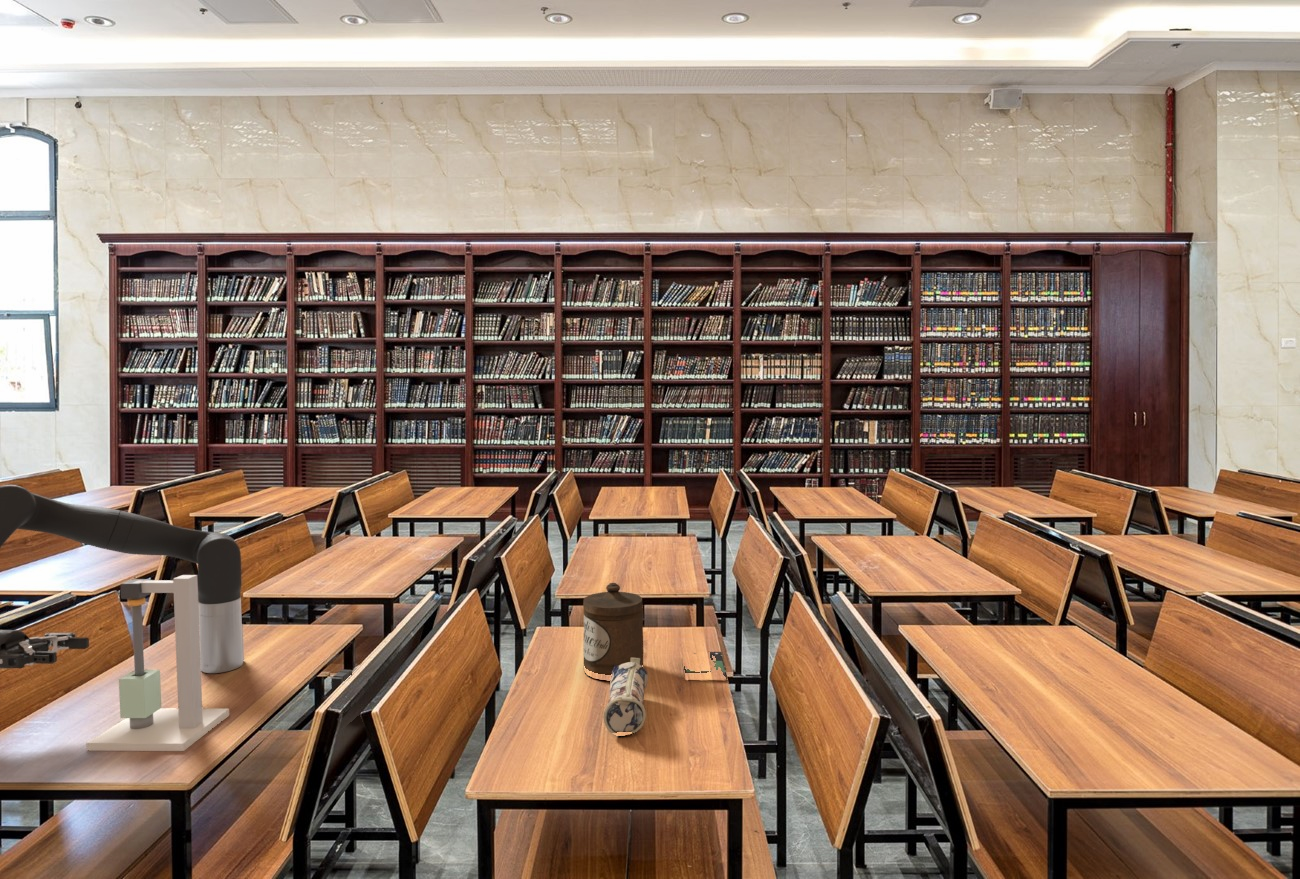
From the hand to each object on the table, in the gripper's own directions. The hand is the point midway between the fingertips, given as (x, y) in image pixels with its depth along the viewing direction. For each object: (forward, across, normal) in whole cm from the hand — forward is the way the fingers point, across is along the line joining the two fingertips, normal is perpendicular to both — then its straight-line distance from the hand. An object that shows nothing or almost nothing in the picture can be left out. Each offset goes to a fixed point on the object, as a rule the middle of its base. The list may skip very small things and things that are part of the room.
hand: (72, 650), depth 154 cm
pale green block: (+14, 0, +13) cm, 19 cm away
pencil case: (+112, +8, +16) cm, 113 cm away
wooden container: (+107, +36, +16) cm, 114 cm away
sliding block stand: (+18, 0, +17) cm, 24 cm away
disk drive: (+130, +37, +16) cm, 136 cm away
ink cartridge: (+50, +12, +17) cm, 54 cm away
